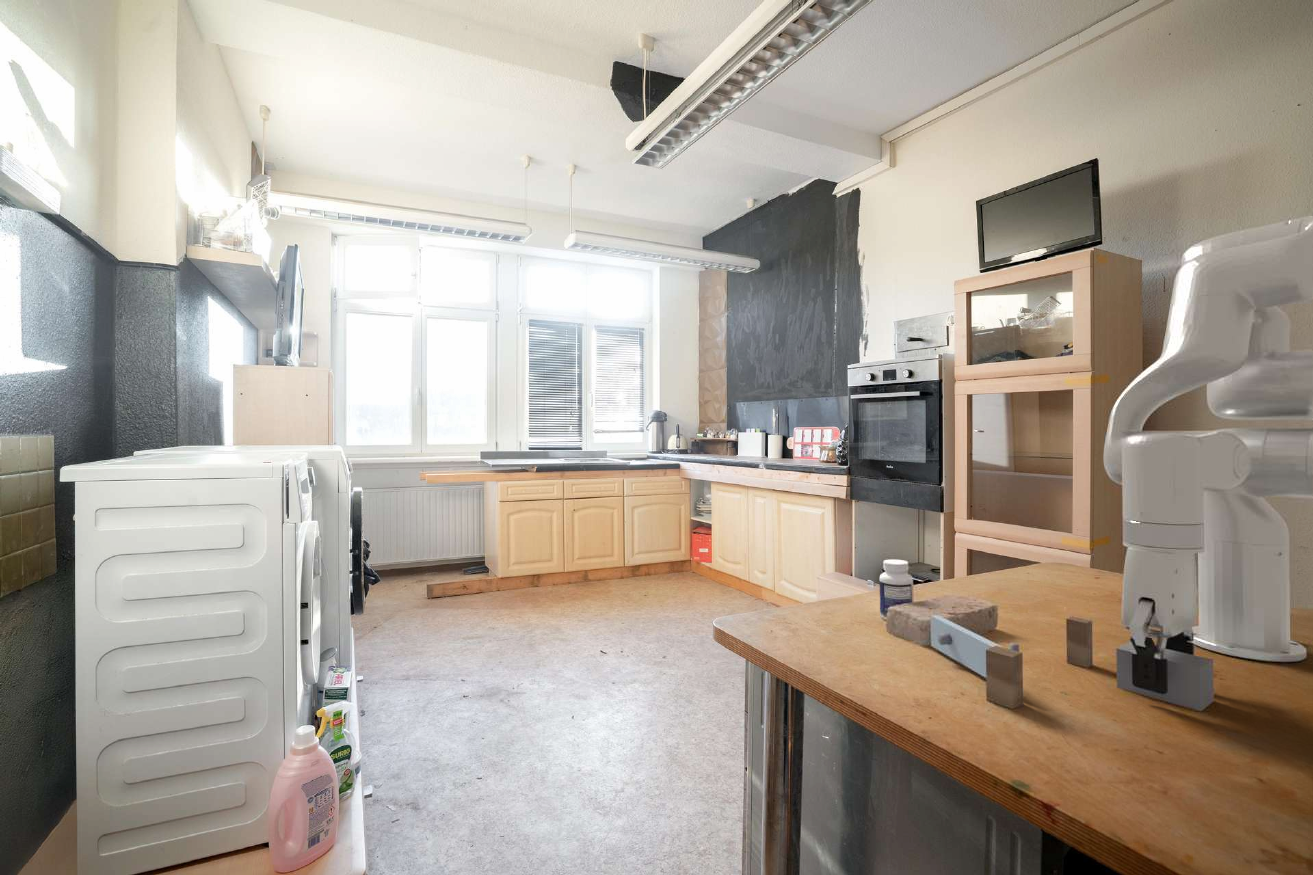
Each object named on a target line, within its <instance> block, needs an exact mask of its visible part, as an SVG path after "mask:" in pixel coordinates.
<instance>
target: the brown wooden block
mask: <svg viewBox="0 0 1313 875" xmlns="http://www.w3.org/2000/svg"><path fill="white" fill-rule="evenodd" d="M1000 646H1001V645H1000ZM1000 646H994V647H991V648H989V649H986V678H985V680H986V681H985V683H986V684H985V686H986V687H985V690H986V695H985V696H986V701H989V702H991V703H994V704H996V705H1000V706H1002V707H1005V708H1008V709H1011V710H1015V709H1016V708H1018V707H1020V706H1022V705H1023V704H1024V675H1023V674H1024V673H1023V671H1024V668H1023V667H1024V665H1023V663H1024V662H1023V660H1024V659H1023V657H1024V656H1023V652H1022V651H1019V652H1018V651H1015V650H1011V649H1009V648H1007V647H1004V646H1002V647H1000ZM1003 647H1004V648H1003Z"/></svg>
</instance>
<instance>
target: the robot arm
mask: <svg viewBox="0 0 1313 875" xmlns="http://www.w3.org/2000/svg"><path fill="white" fill-rule="evenodd" d="M1312 300H1313V215H1309V216H1304V217H1299V218H1294V219H1291V220H1290V219H1289V220H1286V221H1281V222H1276V223H1272V224H1267V225H1261V226H1258V227H1257V226H1256V227H1250V228H1247V229H1242V230H1237V231H1234V232H1229V233H1225V234H1220V235H1216V236H1214V237H1210V238H1208V239H1205V240H1202V241H1200V242H1197V243H1195V244H1193V245H1191V246H1190V247H1189V248H1187V250H1185V252H1184V253H1183V255H1182V257H1181V261H1180V268H1179V270H1178V271H1177V273H1176V274H1175V277H1174V281H1173V288H1172V293H1171V298H1170V303H1169V304H1170V305H1169V309H1168V310H1169V311H1168V316H1167V317H1168V318H1167V321H1166V322H1167V323H1166V329H1165V334H1164V335H1165V336H1164V339H1163V345H1162V351H1161V355H1160V357H1159V358H1157V360H1156V361H1155V362H1153V363H1152V364H1151V365H1149V366H1148V367H1147V368H1145V370H1142V372H1141V373H1140V374H1139V375H1138V376H1136V377H1135V379H1134V380H1133V381H1131V382H1130V384H1128V385H1127V387H1126V388H1125V389H1124V390H1123V391H1122V393H1121V394H1120V395H1119V396H1118V398H1117V399H1116V401H1115V402H1114V404H1113V406H1112V408H1111V412H1110V415H1109V419H1108V424H1107V430H1106V434H1105V441H1104V446H1103V466H1104V470H1105V472H1106V474H1107V476H1108V477H1109V479H1110V480H1111V481H1113V482H1114V483H1117V484H1118V485H1121V486H1122V487H1121V488H1122V490H1121V491H1122V493H1121V494H1122V545H1123V546H1124V547H1126V548H1127V549H1126V554H1125V558H1124V560H1125V561H1124V566H1123V567H1124V568H1123V578H1122V596H1121V626H1122V627H1123V628H1124V629H1125V630H1128V631H1130V635H1131V636H1130V639H1129V640H1130V641H1131V642H1132V646H1131V652H1132V684H1133V685H1134V686H1135V687H1138V688H1141V689H1145V690H1149V691H1152V692H1156V693H1159V694H1166V693H1167V692H1168V673H1167V659H1164V658H1163V656H1164V651H1165V649H1169V650H1173V651H1177V652H1182V653H1186V654H1191V655H1195V646H1198V647H1200V648H1203V649H1206V650H1209V651H1211V652H1212V651H1213V652H1215V653H1220V654H1223V655H1228V656H1233V657H1237V658H1243V659H1249V660H1255V661H1265V662H1278V663H1280V662H1281V663H1290V662H1300V661H1303V660H1305V659H1307V648H1306V647H1305V646H1304V645H1302V644H1301V643H1299V642H1296V641H1294V640H1293V639H1292V640H1291V609H1290V606H1291V604H1290V601H1291V598H1290V595H1291V593H1290V591H1291V590H1290V533H1289V529H1288V525H1287V523H1286V521H1285V520H1284V519H1283V517H1282V515H1280V514H1279V513H1278V512H1277V511H1276V510H1275V508H1273V507H1272V505H1270V504H1269V502H1267V501H1266V500H1265V498H1264V497H1280V498H1281V497H1284V498H1298V499H1299V498H1302V499H1303V498H1304V499H1313V427H1237V428H1236V427H1231V428H1220V429H1214V430H1143V427H1144V425H1145V423H1146V422H1147V420H1148V418H1149V417H1150V415H1152V414H1153V413H1154V412H1155V411H1156V410H1157V409H1158V408H1159V407H1161V406H1163V405H1165V403H1167V402H1168V401H1171V400H1173V399H1174V398H1176V397H1178V396H1181V395H1184V394H1185V393H1188V392H1190V391H1193V390H1195V389H1198V388H1201V387H1203V386H1205V385H1206V400H1207V406H1208V408H1209V410H1210V412H1211V413H1212V414H1213V415H1215V416H1216V417H1219V418H1222V419H1226V420H1235V421H1236V420H1237V421H1267V420H1268V421H1269V420H1271V421H1272V420H1273V421H1275V420H1278V421H1279V420H1308V421H1311V422H1312V421H1313V349H1302V350H1291V349H1290V333H1291V332H1290V331H1291V322H1290V319H1289V317H1288V315H1287V314H1286V313H1285V312H1284V311H1283V310H1282V309H1281V308H1279V307H1278V306H1284V305H1285V306H1286V305H1292V304H1293V305H1294V304H1299V303H1305V302H1309V301H1312ZM1196 554H1197V562H1196ZM1197 564H1198V565H1197ZM1197 570H1198V571H1197ZM1197 572H1198V574H1197ZM1197 618H1198V625H1195V624H1196V622H1197ZM1194 625H1195V626H1194ZM1149 627H1150V628H1149ZM1153 628H1154V629H1153ZM1157 629H1159V630H1157ZM1154 639H1157V640H1156V644H1155V642H1154ZM1130 641H1129V642H1130Z"/></svg>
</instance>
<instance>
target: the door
mask: <svg viewBox="0 0 1313 875" xmlns="http://www.w3.org/2000/svg"><path fill="white" fill-rule="evenodd" d="M994 646H1000V647H1003V648H1005V647H1004V646H1002V645H999V644H998V643H995V642H993V641H991V640H990V639H987V638H985V637H984V636H982V635H977V634H975V633H973V632H971V631H969V630H967V629H965V628H963V627H961V626H959V625H957V624H955V623H953V622H951V621H949V620H947V619H945V618H943V617H941V616H939V615H935V616H931V645H930V647H932V648H934V649H936V650H937V651H939V652H941V653H943V654H944V655H946V656H948V657H949V658H951V659H953V660H955V661H957V662H958V663H960V664H961V665H964V666H965V667H966V668H968V669H970V670H971V671H973V672H975V673H977V674H979V676H982V677H983V678H985V679H986V649H989V648H991V647H994ZM1008 646H1009V648H1008V649H1011V650H1015V651H1018V652H1020V645H1019V643H1015V642H1009V644H1008Z"/></svg>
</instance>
